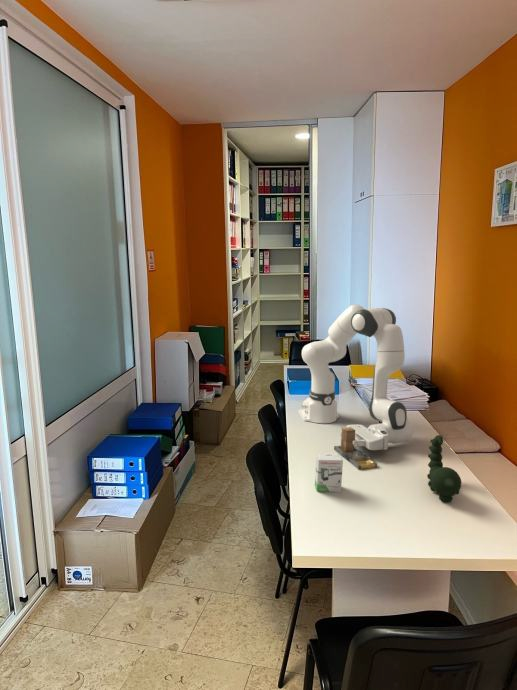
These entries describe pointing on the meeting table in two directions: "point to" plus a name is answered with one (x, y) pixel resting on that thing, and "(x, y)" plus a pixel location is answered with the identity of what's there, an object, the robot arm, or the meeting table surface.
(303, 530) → the meeting table surface
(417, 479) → the meeting table surface
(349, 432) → the walnut peg
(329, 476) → the ink box
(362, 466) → the tray
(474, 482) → the meeting table surface
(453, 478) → the toy figurine
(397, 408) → the robot arm
